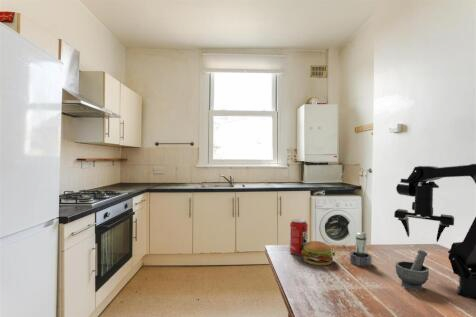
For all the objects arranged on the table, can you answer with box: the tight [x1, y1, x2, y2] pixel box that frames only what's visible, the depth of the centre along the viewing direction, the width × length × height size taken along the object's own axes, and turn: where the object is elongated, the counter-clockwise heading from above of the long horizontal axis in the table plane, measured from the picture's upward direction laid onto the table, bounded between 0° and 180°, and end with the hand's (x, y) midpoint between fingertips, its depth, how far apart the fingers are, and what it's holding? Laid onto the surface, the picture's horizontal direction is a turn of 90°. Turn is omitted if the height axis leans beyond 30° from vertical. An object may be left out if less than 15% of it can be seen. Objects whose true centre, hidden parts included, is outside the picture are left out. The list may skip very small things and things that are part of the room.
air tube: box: [355, 231, 368, 257], centre depth 114 cm, size 4×4×12 cm
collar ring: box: [349, 250, 373, 268], centre depth 114 cm, size 8×8×4 cm
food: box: [301, 240, 336, 267], centre depth 116 cm, size 14×14×8 cm
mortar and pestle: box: [395, 249, 430, 292], centre depth 94 cm, size 11×9×12 cm
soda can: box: [289, 218, 309, 256], centre depth 125 cm, size 8×8×15 cm
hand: (422, 238), depth 105 cm, fingers open, 9 cm apart
